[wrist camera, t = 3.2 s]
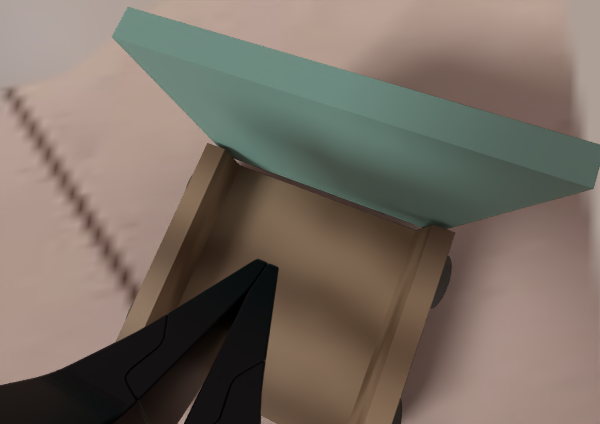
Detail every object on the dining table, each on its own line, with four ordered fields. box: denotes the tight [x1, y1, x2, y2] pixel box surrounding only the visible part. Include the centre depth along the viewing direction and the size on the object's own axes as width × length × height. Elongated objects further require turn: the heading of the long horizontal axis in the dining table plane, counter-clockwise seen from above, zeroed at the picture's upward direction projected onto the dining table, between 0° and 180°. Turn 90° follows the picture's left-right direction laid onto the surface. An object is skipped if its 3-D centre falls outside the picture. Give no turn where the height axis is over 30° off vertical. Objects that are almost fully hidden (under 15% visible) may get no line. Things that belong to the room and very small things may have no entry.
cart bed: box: [116, 143, 455, 424], centre depth 18 cm, size 14×17×6 cm
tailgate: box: [112, 7, 600, 229], centre depth 14 cm, size 2×15×11 cm, turn 68°
